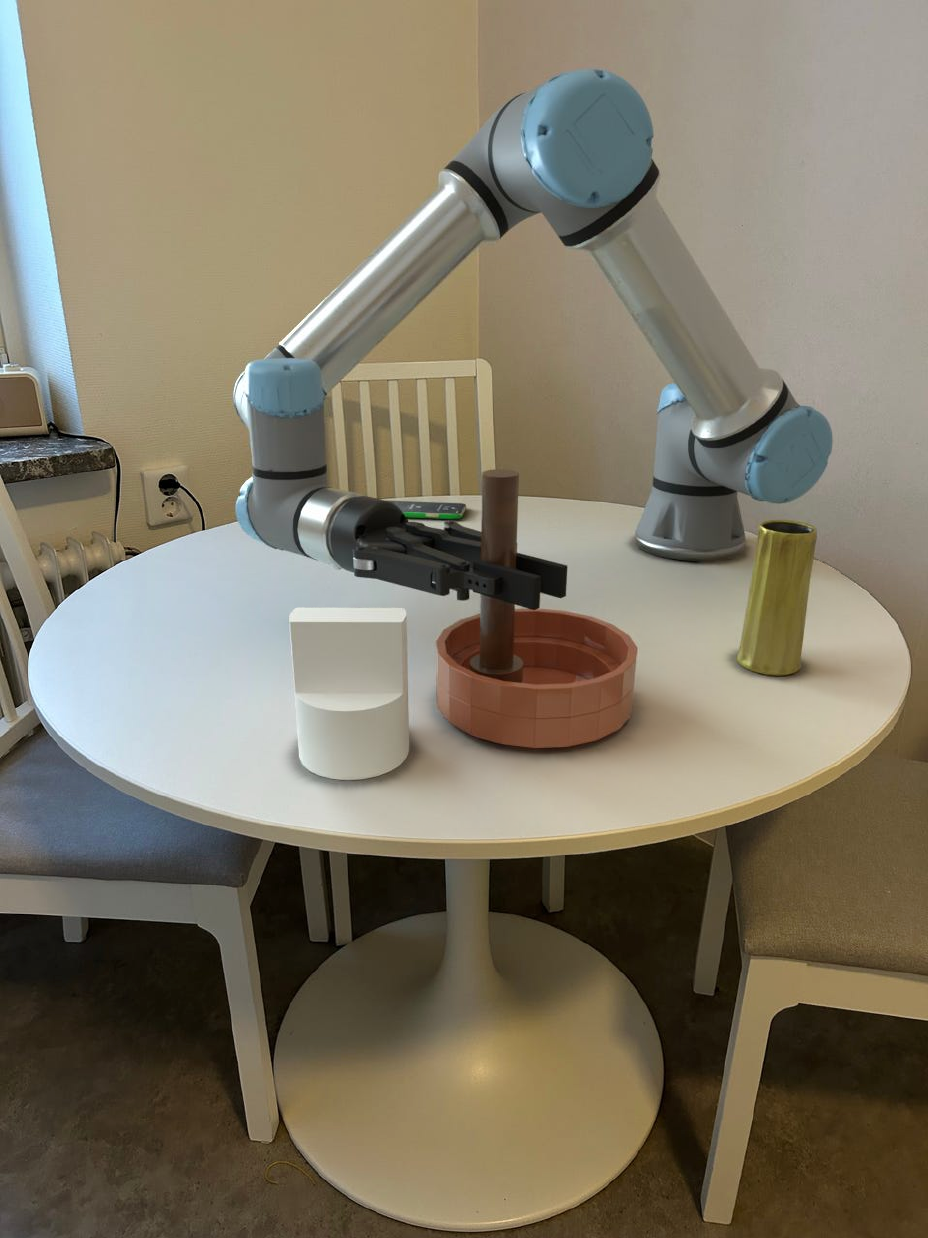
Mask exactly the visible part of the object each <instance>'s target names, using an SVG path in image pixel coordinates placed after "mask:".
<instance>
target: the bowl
mask: <svg viewBox="0 0 928 1238" xmlns="http://www.w3.org/2000/svg"><path fill="white" fill-rule="evenodd" d="M478 654H480V613H476V614H474V615H470V616H467V617H465V618H461V619H459V620H456V621H455V622H454V623H452V624H450V625H449V626H446V628H444V629H443V630H442V631H441V633H440V635H438V637H437V639H436V640H435V681H436V682H435V689H436V690H435V692H436V693H435V695H436V696H435V697H436V702H437V709H438V711H440V713H441V714H442V716H443V717H445V719H446V720H447V721H448V723H450V724H451V725H453V726H455V727H456V728H458V729H460V730H461V731H463V732H465V733H467V734H469V735H470V736H473V737H476V738H478V739H482V740H486V741H490V742H493V743H495V744H500V745H507V746H514V747H524V748H530V749H545V748H568V747H572V746H573V747H574V746H577V745H583V744H586V743H591V742H595V741H598V740H600V739H602V738H605V737H606V736H608V735H610V734H613V733H615V732H617V731H619V730H620V729H621V728H622V727H623V726H624V725H625V724H626V723H627V721H628V720H629V719H630V718H631V717H632V715H633V713H632V712H633V705H634V694H635V683H636V671H637V670H636V669H637V659H638V646H637V644H636V643H635V642H634V640H633V639H632V637H631V636H630V635H629V634H628V633H626V632H625V631H624V630H622V629H620V628H619V627H617V626H616V625H614V624H613V623H610V622H607V621H604V620H602V619H600V618H597V617H594V616H591V615H585V614H581V613H576V612H571V611H567V610H558V609H548V608H547V609H546V608H538V609H536V610H531V609H528V608H515V621H514V655H516V656H518V657H519V658H521V659H522V661H523V681H522V683H517V682H507V681H501V680H497V679H494V678H490V677H486V676H482V675H478V674H476V673H474V672H472V671H470V670H469V662H470V659H471V658H472V657H474V656H475V655H478Z"/></svg>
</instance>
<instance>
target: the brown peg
mask: <svg viewBox="0 0 928 1238" xmlns="http://www.w3.org/2000/svg"><path fill="white" fill-rule="evenodd" d="M519 477H520V474H519V472H518V471H516V470H513V469H512V470H511V469H501V468H495V469H488V470H484V471H482V473H481V522H480V523H481V524H480V525H481V527H480V529H481V530H480V532H481V560H483V561H486V562H490V563H494V564H498V565H501V566H505V567H509V568H512V569H516V554H517V553H518V521H519V520H518V517H519V485H520V484H519V483H520V481H519V480H520V478H519ZM479 596H480V597H479V599H480V600H479V601H480V602H479V603H480V604H479V606H480V607H479V608H480V609H479V614H480V654H478V655H475V656H474V657H472V658H471V659H470V662H469V670H470V671H472V672H474V673H476V674H478V675H482V676H486V677H490V678H494V679H497V680H501V681H507V682H517V683H522V681H523V661H522V659H521V658H519V657H518V656H516V655H514V621H515V609H516V605H515V604H511V603H508V602H505V601H502V600H498V599H495V598H492V597H488V596H485V595H482V594H479Z"/></svg>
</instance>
